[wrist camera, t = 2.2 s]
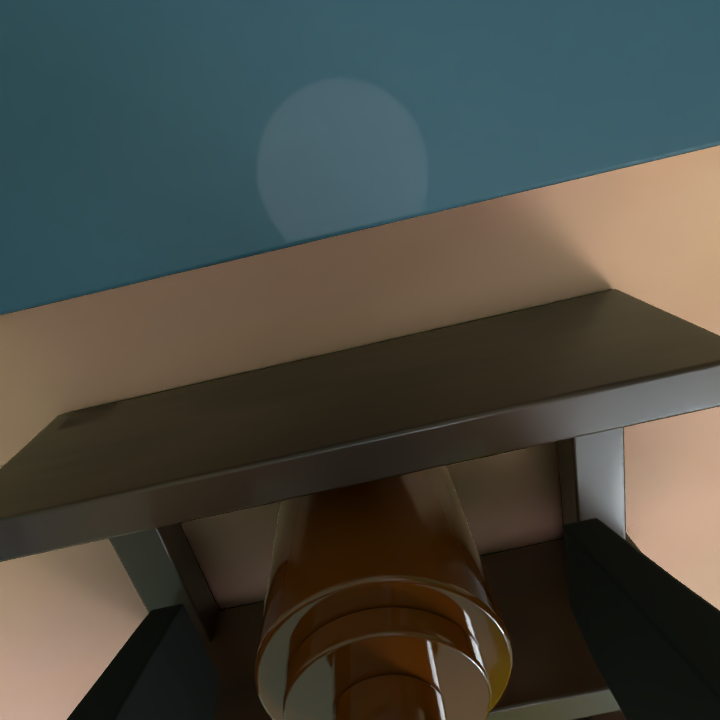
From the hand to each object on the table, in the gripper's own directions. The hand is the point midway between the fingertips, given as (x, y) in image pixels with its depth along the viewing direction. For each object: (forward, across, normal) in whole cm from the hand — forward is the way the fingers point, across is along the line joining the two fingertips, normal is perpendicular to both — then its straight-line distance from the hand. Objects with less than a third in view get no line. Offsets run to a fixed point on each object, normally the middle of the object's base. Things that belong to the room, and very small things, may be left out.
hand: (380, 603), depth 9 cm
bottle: (+4, 0, 0) cm, 4 cm away
